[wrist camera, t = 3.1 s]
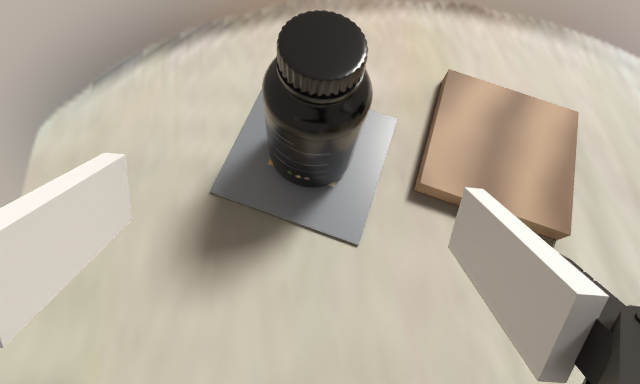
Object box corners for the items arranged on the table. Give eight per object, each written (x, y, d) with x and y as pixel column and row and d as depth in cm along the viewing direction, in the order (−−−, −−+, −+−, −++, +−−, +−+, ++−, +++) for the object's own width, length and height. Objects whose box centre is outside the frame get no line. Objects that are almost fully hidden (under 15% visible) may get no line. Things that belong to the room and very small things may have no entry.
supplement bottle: (283, 107, 31) (283, -21, 20) (360, 130, 31) (401, 14, 20) (255, 176, 29) (237, 73, 18) (338, 202, 28) (373, 114, 17)
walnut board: (566, 121, 34) (578, 112, 32) (556, 240, 29) (570, 235, 28) (442, 80, 34) (449, 69, 33) (413, 190, 30) (420, 182, 28)
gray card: (396, 120, 32) (397, 118, 32) (358, 245, 27) (358, 245, 27) (269, 76, 33) (269, 75, 32) (210, 192, 28) (209, 191, 28)
